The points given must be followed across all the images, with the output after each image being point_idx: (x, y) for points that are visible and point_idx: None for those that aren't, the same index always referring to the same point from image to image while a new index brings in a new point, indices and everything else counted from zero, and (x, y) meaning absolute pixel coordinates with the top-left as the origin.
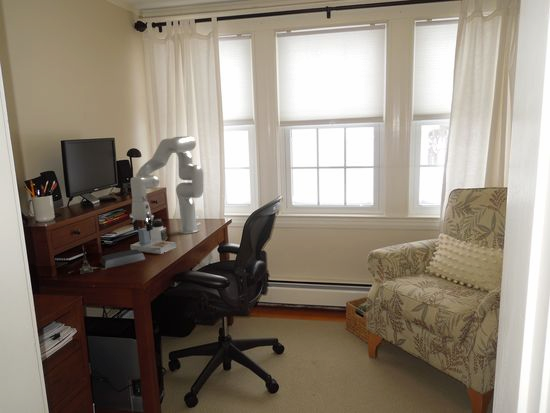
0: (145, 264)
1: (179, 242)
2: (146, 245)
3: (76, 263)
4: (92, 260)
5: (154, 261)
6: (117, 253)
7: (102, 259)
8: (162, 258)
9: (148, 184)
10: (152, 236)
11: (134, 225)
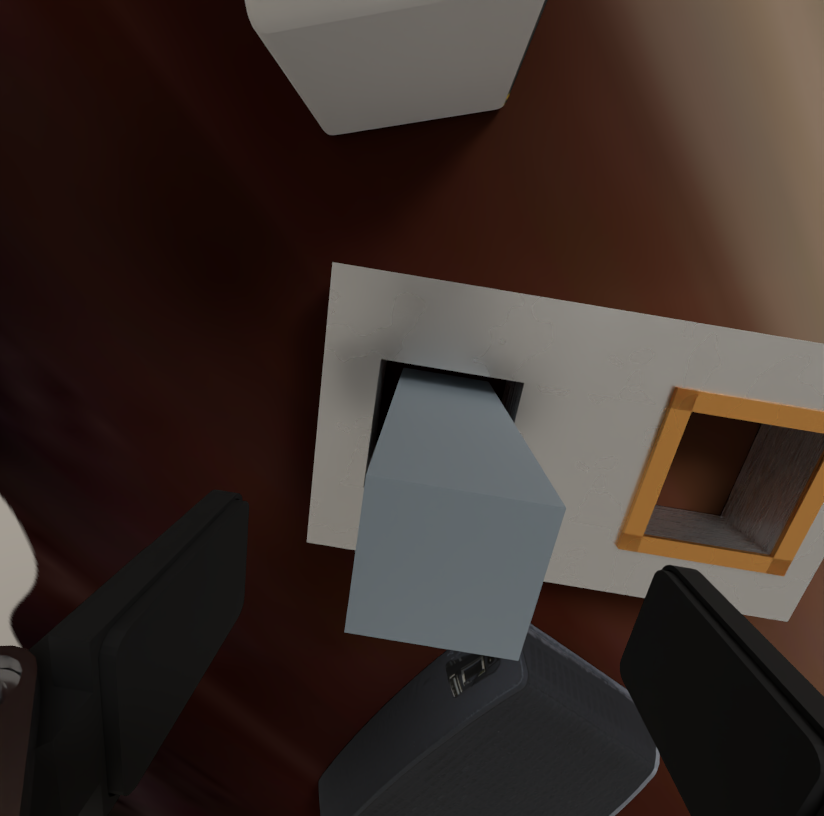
0: None
1: (816, 77)
2: None
3: (155, 801)
4: (210, 751)
5: None
6: (413, 800)
7: None
8: (806, 675)
9: None
10: (341, 92)
11: (178, 711)
